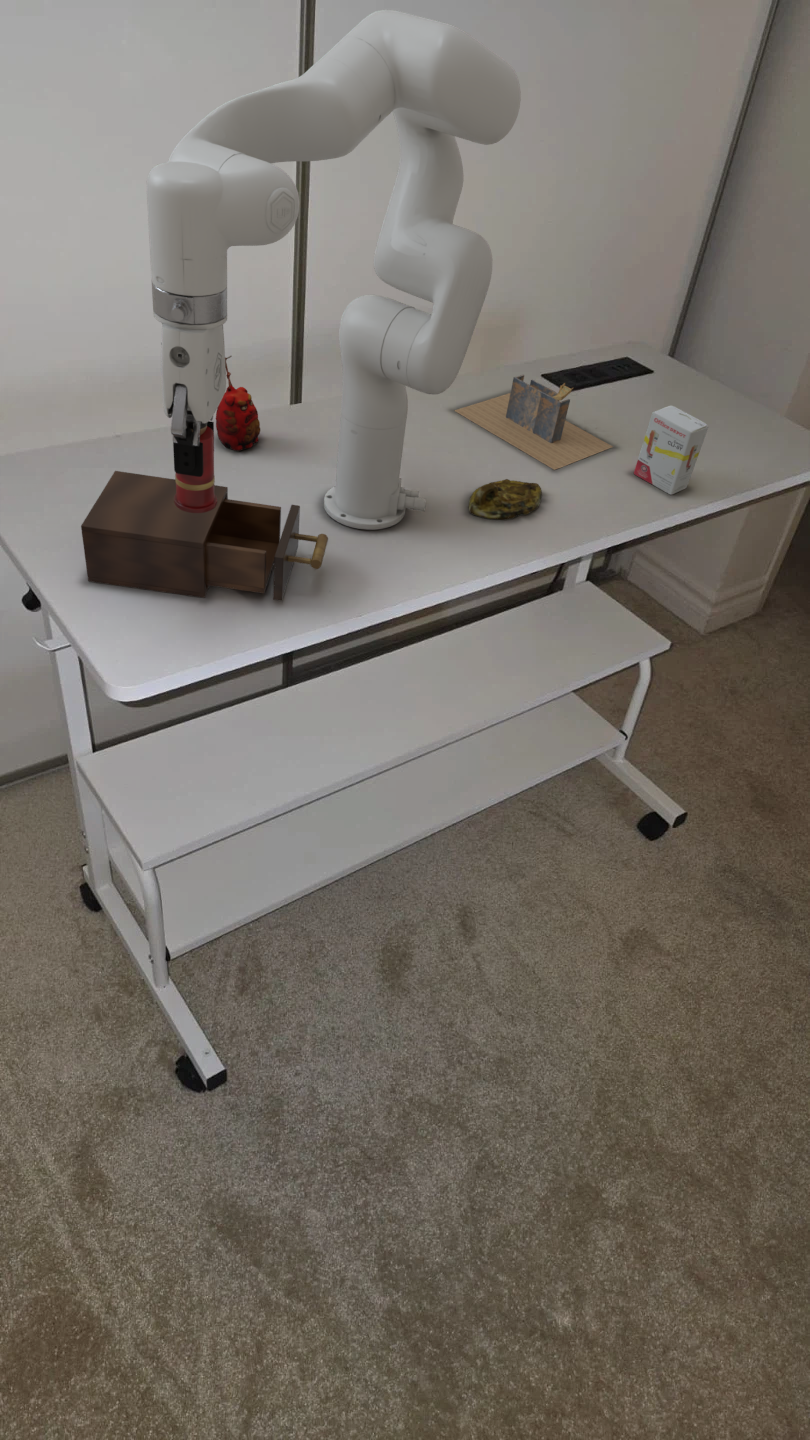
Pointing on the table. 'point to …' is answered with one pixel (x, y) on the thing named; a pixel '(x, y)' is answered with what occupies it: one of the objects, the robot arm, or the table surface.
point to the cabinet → (147, 536)
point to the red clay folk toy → (237, 418)
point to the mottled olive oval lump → (505, 499)
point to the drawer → (256, 547)
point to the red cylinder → (198, 478)
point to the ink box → (670, 449)
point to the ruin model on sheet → (535, 423)
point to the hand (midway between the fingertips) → (194, 461)
